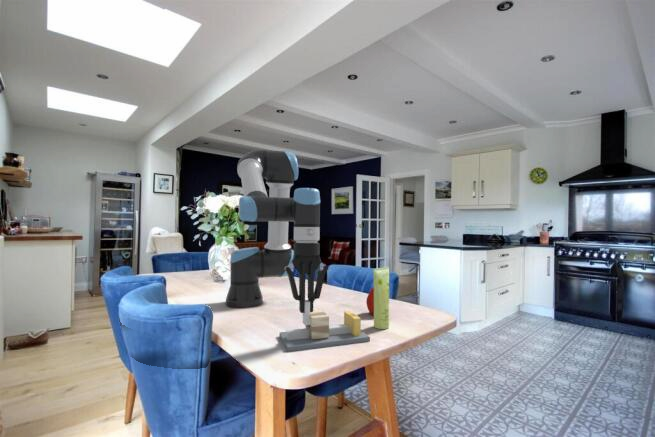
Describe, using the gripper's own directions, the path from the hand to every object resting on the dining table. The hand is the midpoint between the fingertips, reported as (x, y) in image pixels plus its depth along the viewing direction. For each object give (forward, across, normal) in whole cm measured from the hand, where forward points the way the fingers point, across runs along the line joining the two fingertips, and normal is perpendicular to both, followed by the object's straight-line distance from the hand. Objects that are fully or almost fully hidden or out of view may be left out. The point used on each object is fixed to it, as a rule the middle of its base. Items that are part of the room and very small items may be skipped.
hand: (306, 323), depth 91 cm
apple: (+5, +32, +18) cm, 37 cm away
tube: (+5, +26, +4) cm, 27 cm away
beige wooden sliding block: (+3, +3, 0) cm, 5 cm away
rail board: (+5, +5, 0) cm, 7 cm away
